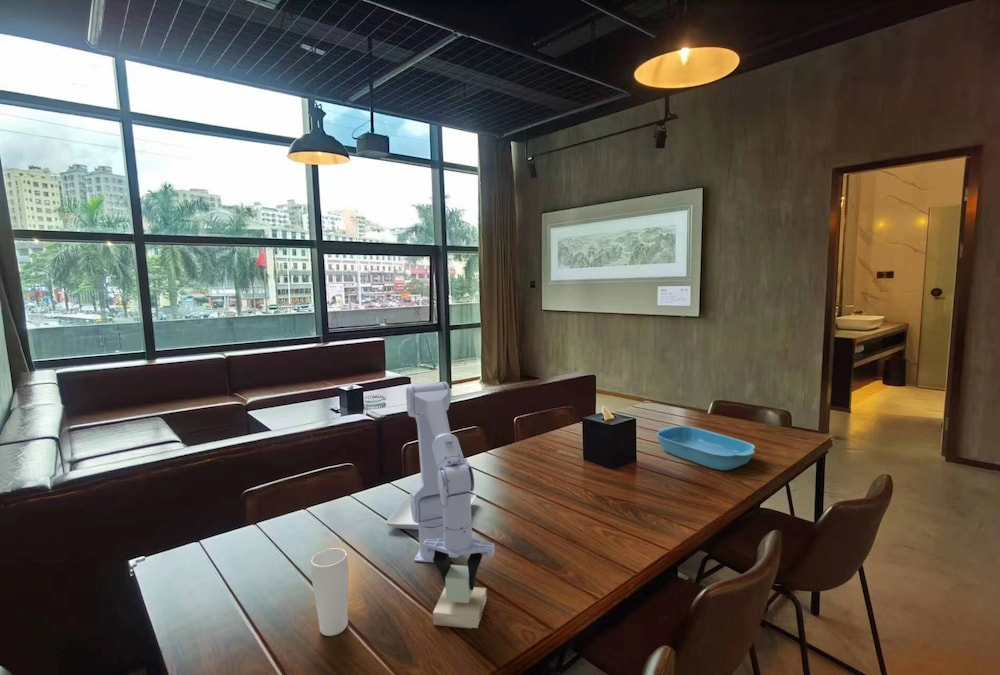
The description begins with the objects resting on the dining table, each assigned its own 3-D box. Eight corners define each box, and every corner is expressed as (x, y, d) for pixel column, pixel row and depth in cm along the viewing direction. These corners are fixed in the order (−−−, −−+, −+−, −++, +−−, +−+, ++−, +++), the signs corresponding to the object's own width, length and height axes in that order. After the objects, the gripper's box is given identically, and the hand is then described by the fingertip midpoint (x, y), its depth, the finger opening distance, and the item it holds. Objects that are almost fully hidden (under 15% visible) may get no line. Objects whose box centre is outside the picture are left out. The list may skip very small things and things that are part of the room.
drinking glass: (355, 615, 99) (351, 546, 97) (346, 639, 92) (341, 566, 90) (322, 617, 98) (317, 548, 97) (310, 641, 92) (305, 567, 90)
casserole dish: (767, 464, 173) (768, 445, 172) (731, 479, 161) (732, 459, 160) (680, 438, 204) (681, 422, 203) (645, 449, 192) (645, 432, 191)
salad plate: (458, 539, 128) (458, 527, 127) (384, 533, 132) (384, 521, 132) (478, 504, 148) (477, 493, 148) (413, 499, 153) (413, 489, 152)
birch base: (446, 597, 104) (445, 584, 104) (486, 601, 103) (486, 588, 102) (433, 626, 95) (432, 612, 95) (477, 630, 94) (477, 616, 93)
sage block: (452, 587, 101) (451, 564, 100) (473, 588, 100) (472, 566, 100) (446, 601, 96) (445, 577, 96) (468, 603, 96) (467, 579, 95)
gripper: (416, 531, 94) (419, 595, 96) (488, 535, 92) (491, 601, 93) (427, 514, 101) (430, 574, 103) (495, 517, 99) (497, 579, 100)
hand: (460, 585), depth 98 cm, fingers closed on sage block, 4 cm apart
